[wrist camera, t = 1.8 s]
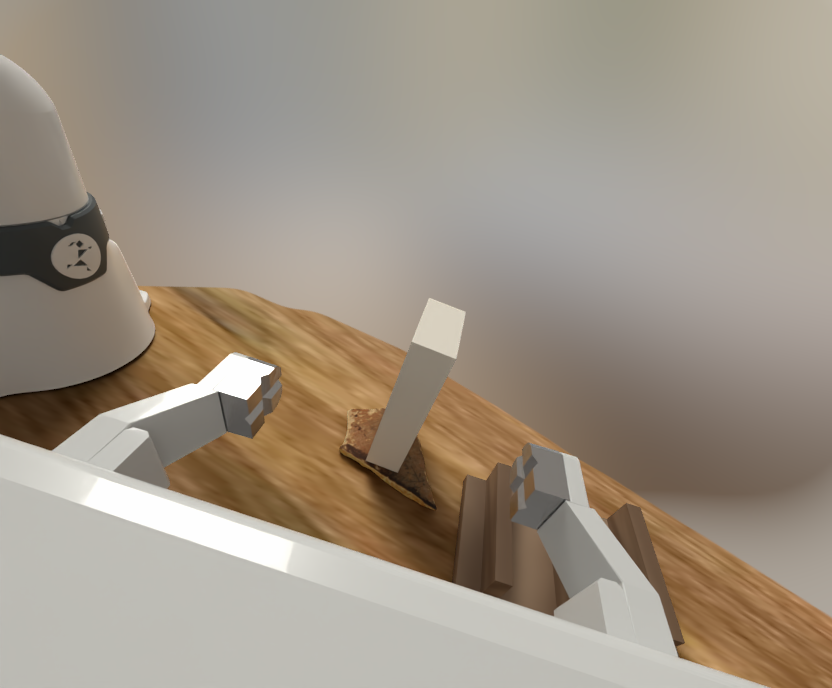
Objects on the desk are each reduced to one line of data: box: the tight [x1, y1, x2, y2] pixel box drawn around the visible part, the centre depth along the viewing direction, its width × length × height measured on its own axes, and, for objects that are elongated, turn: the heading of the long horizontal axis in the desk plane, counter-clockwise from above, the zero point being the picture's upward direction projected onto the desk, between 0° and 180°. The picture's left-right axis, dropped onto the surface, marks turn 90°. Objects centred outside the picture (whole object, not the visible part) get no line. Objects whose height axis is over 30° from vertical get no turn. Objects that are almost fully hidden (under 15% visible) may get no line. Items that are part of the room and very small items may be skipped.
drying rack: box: [452, 463, 685, 658], centre depth 27 cm, size 16×9×4 cm, turn 77°
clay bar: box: [366, 298, 466, 473], centre depth 28 cm, size 3×6×14 cm, turn 167°
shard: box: [339, 408, 437, 511], centre depth 32 cm, size 11×8×2 cm
